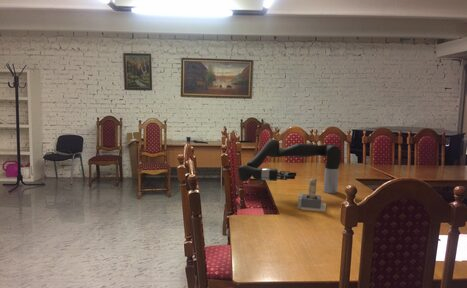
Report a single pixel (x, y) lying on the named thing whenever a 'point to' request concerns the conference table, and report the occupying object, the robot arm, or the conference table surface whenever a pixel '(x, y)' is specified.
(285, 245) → the conference table surface
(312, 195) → the dowel
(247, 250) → the conference table surface
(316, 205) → the dowel dock
